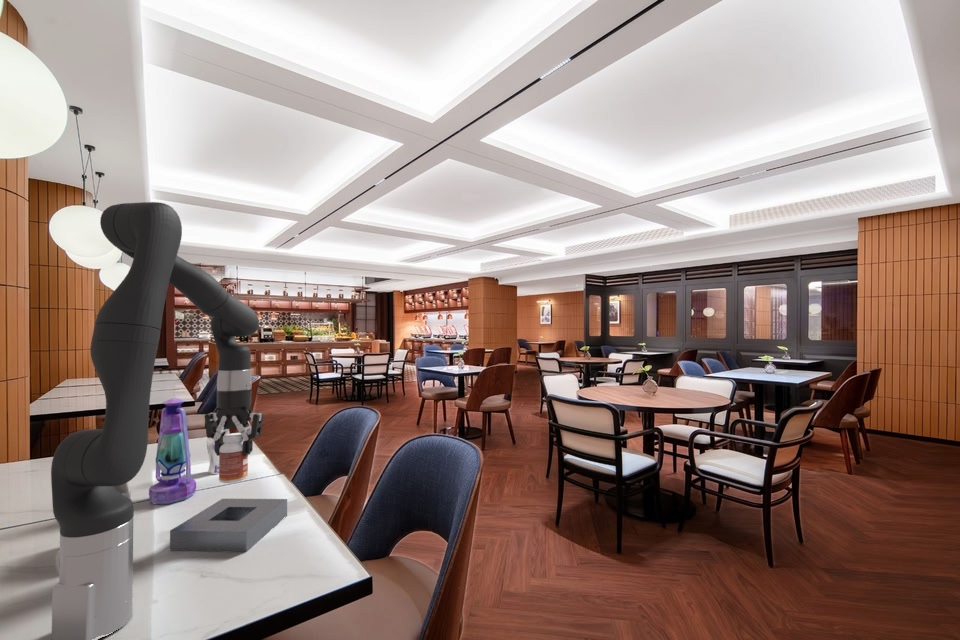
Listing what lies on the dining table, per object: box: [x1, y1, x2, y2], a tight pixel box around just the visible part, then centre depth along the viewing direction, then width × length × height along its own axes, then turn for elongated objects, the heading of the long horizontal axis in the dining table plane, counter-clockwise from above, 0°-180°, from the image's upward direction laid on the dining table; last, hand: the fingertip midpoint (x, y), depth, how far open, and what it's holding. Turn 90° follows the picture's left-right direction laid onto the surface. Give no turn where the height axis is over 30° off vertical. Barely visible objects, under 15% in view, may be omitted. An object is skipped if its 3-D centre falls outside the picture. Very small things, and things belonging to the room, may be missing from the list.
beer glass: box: [206, 429, 231, 475], centre depth 147 cm, size 7×7×15 cm
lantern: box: [148, 397, 197, 505], centre depth 124 cm, size 13×12×30 cm
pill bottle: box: [218, 432, 249, 484], centre depth 103 cm, size 6×6×11 cm
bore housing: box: [169, 498, 288, 553], centre depth 103 cm, size 18×18×4 cm
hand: (233, 454), depth 103 cm, fingers closed on pill bottle, 6 cm apart
